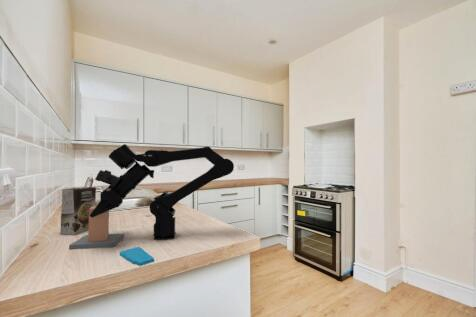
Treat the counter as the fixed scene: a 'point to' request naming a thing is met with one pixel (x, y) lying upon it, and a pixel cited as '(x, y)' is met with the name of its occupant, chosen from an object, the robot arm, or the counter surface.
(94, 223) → the terracotta block
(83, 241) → the slate board
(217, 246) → the counter surface
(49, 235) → the counter surface
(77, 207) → the coffee box
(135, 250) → the sponge
